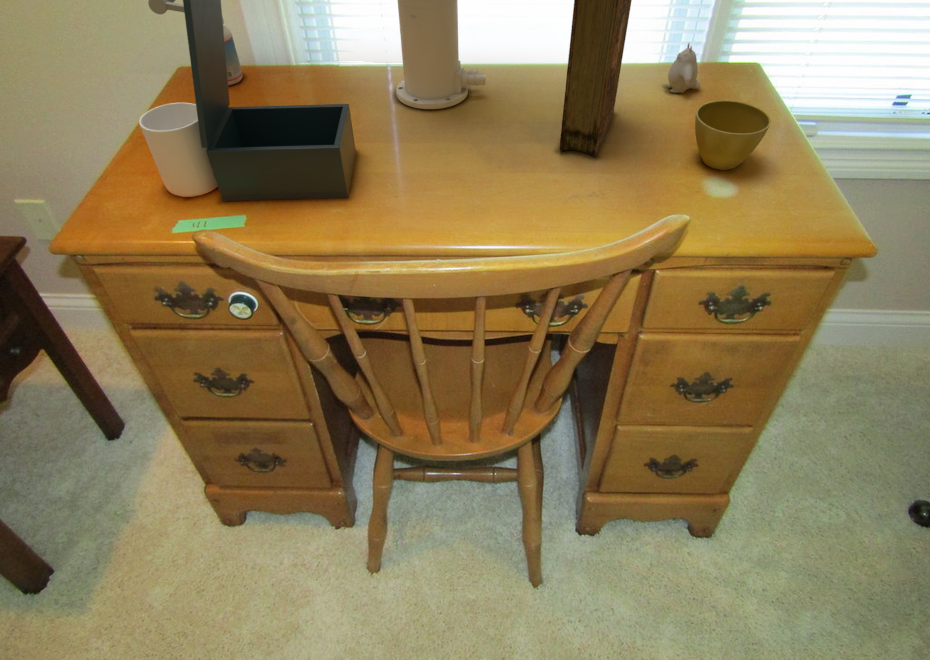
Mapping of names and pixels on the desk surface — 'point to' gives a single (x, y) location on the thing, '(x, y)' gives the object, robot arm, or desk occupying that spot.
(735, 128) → the flower pot
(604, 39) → the book
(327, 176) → the chest
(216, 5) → the lid
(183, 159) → the mug
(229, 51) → the pill bottle
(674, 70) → the figurine
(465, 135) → the desk surface
